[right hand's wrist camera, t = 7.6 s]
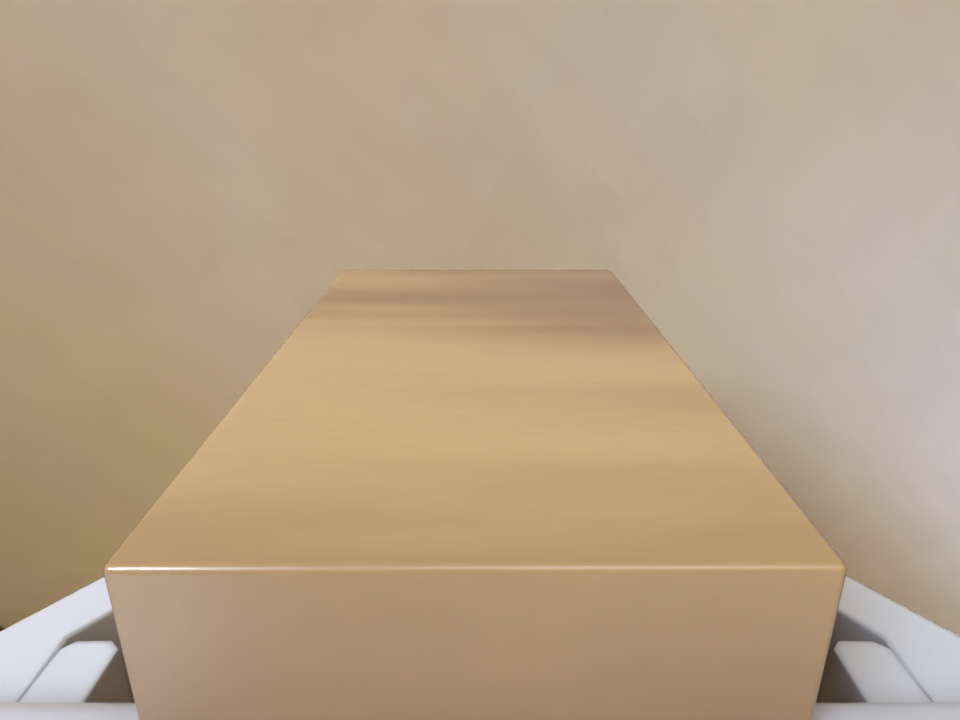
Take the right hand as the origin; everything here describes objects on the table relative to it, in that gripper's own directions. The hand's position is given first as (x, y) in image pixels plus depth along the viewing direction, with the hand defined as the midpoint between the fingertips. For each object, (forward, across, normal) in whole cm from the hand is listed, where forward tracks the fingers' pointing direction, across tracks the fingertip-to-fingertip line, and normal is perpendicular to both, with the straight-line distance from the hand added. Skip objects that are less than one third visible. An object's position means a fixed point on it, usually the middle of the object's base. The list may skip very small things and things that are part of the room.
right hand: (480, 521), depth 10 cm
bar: (+3, 0, -10) cm, 11 cm away
